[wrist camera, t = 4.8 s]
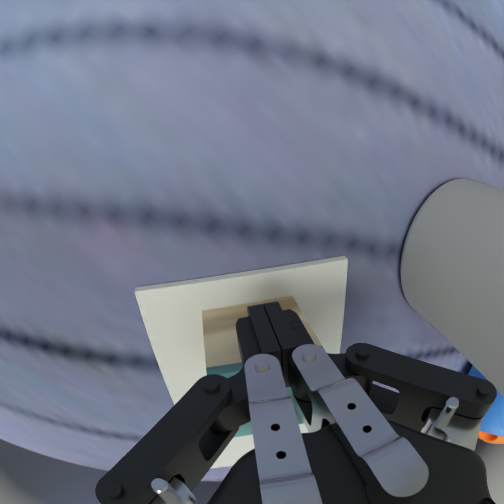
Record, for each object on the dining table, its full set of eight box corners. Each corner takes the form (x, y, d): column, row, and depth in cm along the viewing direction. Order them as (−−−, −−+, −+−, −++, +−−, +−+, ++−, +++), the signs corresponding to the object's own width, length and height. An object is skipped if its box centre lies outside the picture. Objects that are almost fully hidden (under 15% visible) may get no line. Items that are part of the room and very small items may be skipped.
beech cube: (201, 310, 19) (206, 375, 13) (292, 295, 20) (326, 352, 14) (215, 375, 21) (224, 438, 15) (292, 361, 22) (318, 419, 16)
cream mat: (136, 287, 18) (134, 291, 17) (344, 255, 20) (347, 259, 19) (204, 464, 27) (204, 469, 26) (322, 442, 29) (324, 445, 28)
